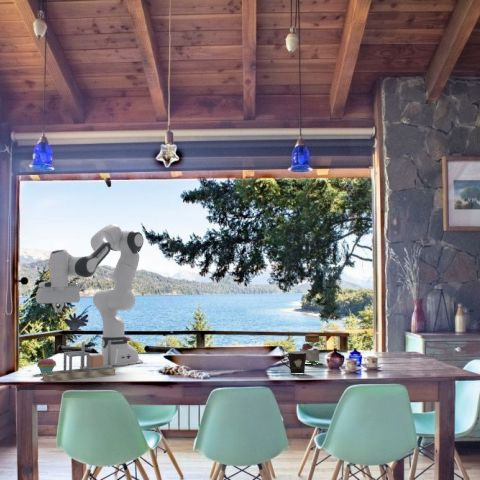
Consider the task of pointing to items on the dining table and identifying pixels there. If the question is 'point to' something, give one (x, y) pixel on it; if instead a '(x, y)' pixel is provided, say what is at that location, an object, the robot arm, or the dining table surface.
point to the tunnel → (73, 354)
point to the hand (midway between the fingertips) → (58, 312)
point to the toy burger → (311, 354)
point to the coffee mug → (296, 361)
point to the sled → (96, 359)
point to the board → (77, 374)
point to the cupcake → (46, 364)
